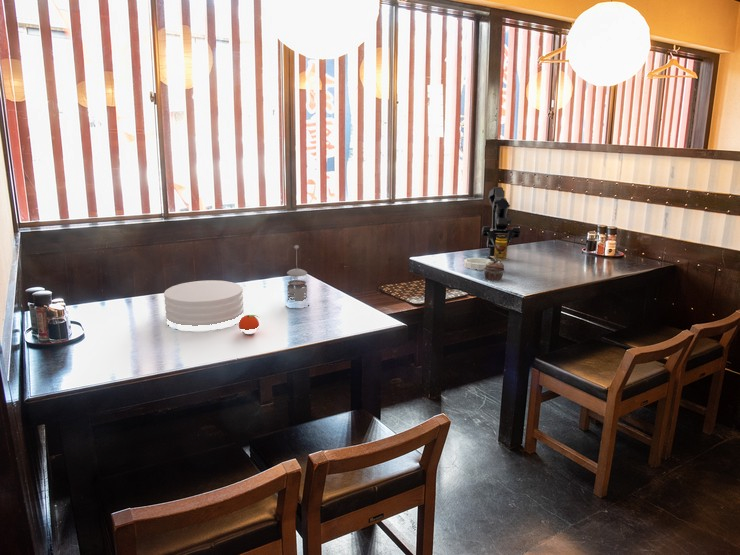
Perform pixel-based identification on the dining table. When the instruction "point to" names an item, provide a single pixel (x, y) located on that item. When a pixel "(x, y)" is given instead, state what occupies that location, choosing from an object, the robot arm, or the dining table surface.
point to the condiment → (500, 247)
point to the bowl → (476, 263)
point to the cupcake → (494, 270)
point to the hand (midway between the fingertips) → (501, 245)
